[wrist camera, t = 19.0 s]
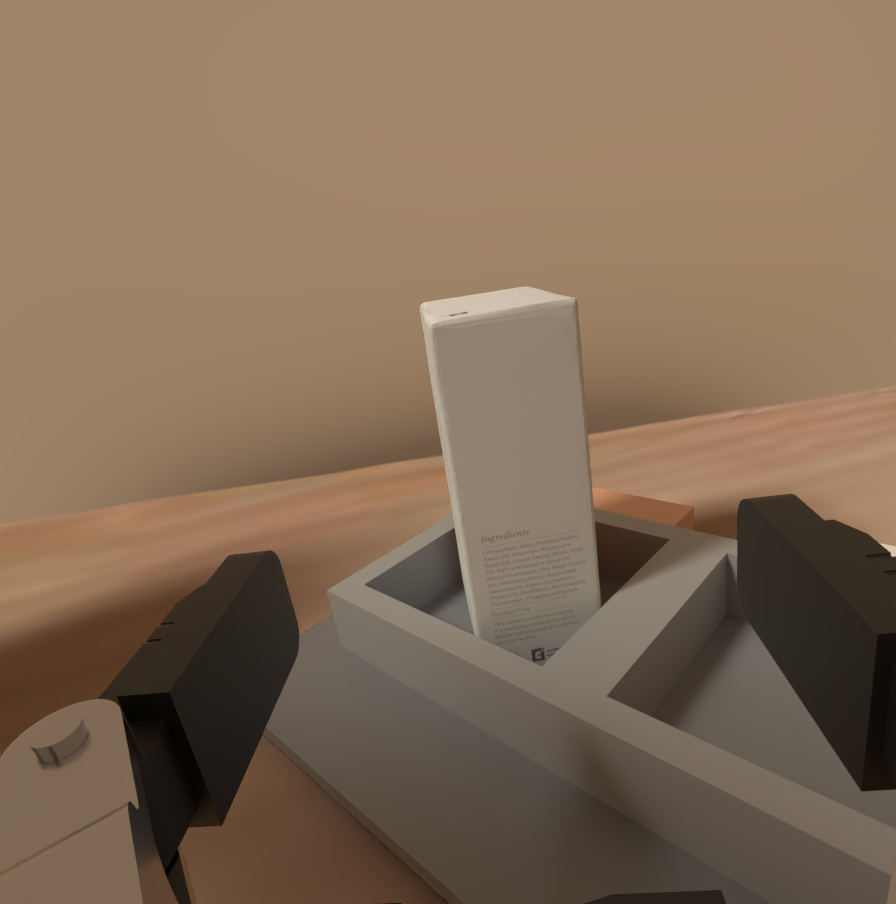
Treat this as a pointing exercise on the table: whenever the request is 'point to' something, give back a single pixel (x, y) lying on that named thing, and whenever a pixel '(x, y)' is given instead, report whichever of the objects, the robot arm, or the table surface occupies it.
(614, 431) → the table surface
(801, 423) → the table surface
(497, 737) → the tray
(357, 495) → the table surface
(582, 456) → the skincare box
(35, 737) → the robot arm
